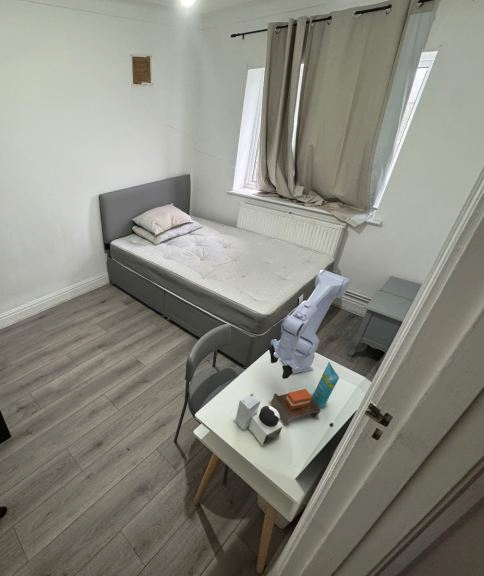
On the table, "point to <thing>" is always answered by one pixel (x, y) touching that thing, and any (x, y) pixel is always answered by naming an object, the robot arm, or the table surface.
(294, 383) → the table surface
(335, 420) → the table surface
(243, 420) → the cosmetic box
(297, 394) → the snack box
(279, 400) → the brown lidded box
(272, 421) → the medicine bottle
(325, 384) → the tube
